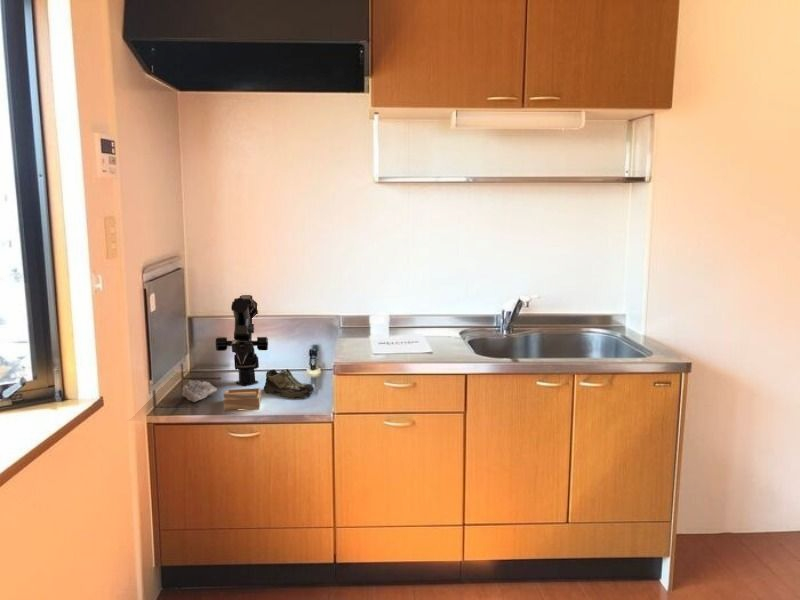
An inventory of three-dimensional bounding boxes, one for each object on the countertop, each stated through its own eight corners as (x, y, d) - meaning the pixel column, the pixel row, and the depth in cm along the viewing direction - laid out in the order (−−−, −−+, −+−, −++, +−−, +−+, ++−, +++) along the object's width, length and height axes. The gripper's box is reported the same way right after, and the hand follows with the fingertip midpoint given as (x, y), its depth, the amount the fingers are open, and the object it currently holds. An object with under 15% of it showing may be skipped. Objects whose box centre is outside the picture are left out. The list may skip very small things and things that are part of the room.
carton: (227, 400, 247) (227, 389, 246) (260, 398, 249) (260, 388, 248) (224, 411, 235) (223, 400, 235) (259, 409, 237) (258, 398, 236)
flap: (223, 393, 229) (223, 394, 229) (255, 391, 231) (255, 392, 231) (225, 399, 234) (225, 400, 234) (256, 397, 236) (256, 398, 236)
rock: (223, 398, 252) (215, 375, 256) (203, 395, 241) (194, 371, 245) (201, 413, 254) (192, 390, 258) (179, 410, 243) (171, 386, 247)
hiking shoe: (305, 401, 246) (304, 376, 244) (257, 393, 255) (256, 369, 253) (317, 395, 253) (317, 370, 252) (270, 387, 262) (269, 364, 261)
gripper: (215, 315, 245) (214, 353, 237) (268, 315, 249) (268, 353, 241) (217, 331, 254) (215, 368, 246) (267, 331, 258) (267, 367, 250)
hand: (241, 364), depth 245 cm, fingers closed
